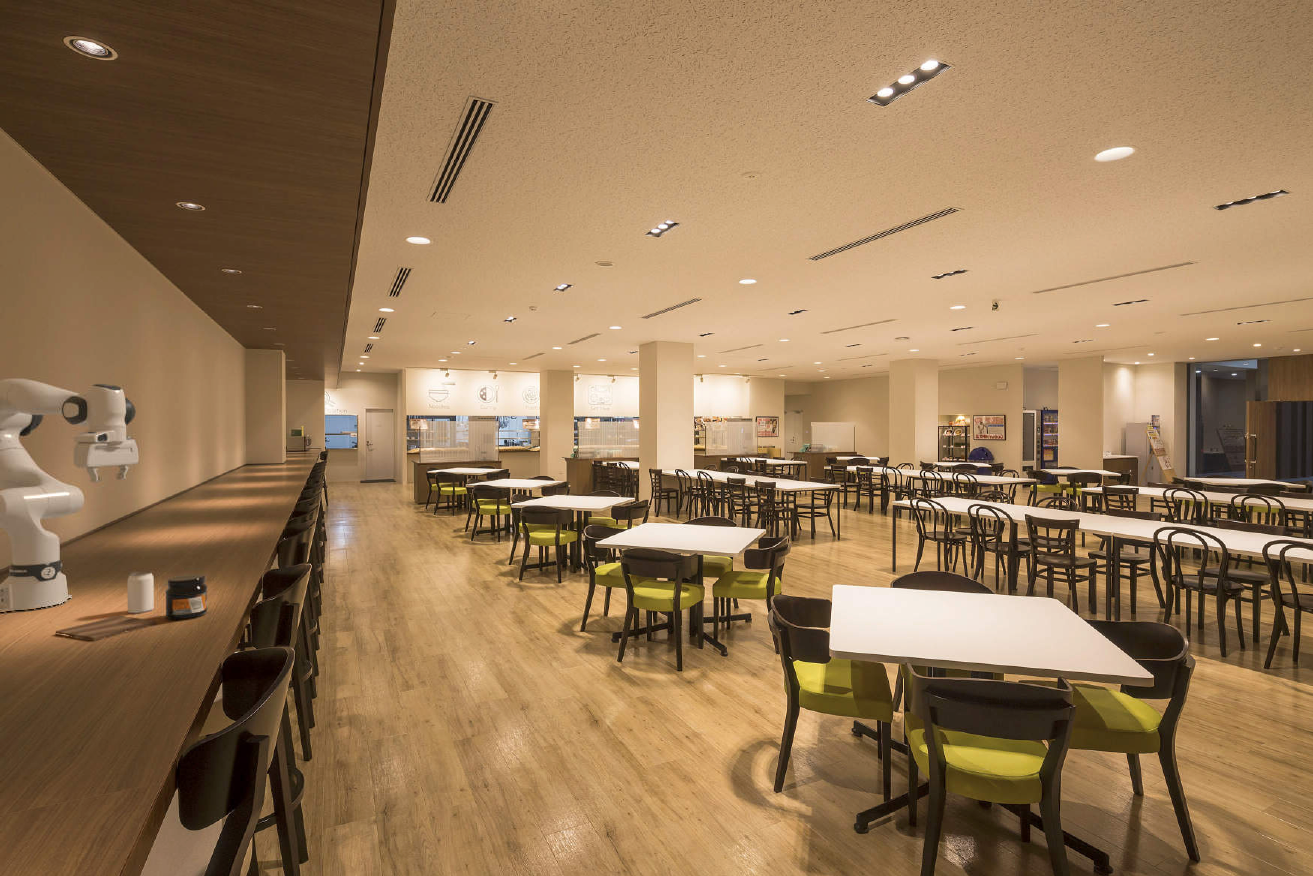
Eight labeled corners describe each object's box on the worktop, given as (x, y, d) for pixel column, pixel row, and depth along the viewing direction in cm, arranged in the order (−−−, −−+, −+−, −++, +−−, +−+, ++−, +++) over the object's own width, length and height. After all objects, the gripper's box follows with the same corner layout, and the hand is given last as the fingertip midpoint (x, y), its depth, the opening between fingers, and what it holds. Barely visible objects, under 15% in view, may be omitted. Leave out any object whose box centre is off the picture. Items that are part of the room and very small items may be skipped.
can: (159, 608, 206) (158, 571, 205) (140, 614, 199) (140, 576, 199) (140, 607, 206) (140, 570, 206) (122, 613, 200) (121, 575, 200)
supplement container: (202, 619, 195) (201, 579, 195) (160, 622, 191) (159, 582, 191) (211, 609, 205) (211, 572, 204) (172, 613, 201) (171, 575, 200)
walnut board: (55, 634, 179) (55, 631, 179) (119, 618, 194) (119, 615, 194) (93, 641, 174) (93, 637, 174) (156, 624, 189) (156, 620, 189)
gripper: (124, 436, 209) (125, 478, 209) (68, 436, 188) (69, 483, 188) (144, 436, 209) (144, 478, 209) (90, 436, 188) (90, 483, 188)
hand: (108, 480), depth 198 cm, fingers open, 8 cm apart
